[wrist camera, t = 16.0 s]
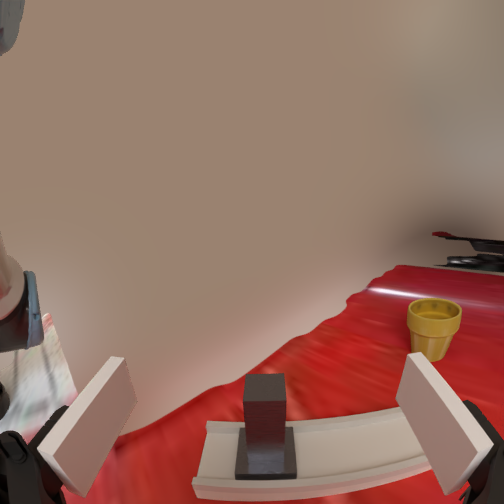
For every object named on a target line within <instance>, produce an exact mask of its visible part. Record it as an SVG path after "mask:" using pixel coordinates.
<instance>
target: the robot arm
mask: <svg viewBox="0 0 504 504" xmlns="http://www.w3.org/2000/svg"><path fill="white" fill-rule="evenodd" d="M24 3H25V0H0V56H2V54H4V53H6V52H8V51H9V50H10V49H11V48H12V47H13V45H14V43H15V41H16V38H17V35H18V32H19V24H20V22H21V19H22V15H23V9H24ZM43 340H44V332H43V326H42V320H41V313H40V307H39V300H38V293H37V284H36V277H35V274H34V273H33V272H32V271H30V272H28V271H24V272H23V271H22V268H21V267H20V265H19V263H18V262H17V261H16V260H15V259H14V258H12V257H11V256H8V255H7V253H6V250H5V247H4V244H3V240H2V237H1V233H0V353H3V352H9V351H14V350H19V349H25V350H27V349H29V348H30V347H34V346H37V345H40V344H41V343H42V342H43ZM395 399H396V400H397V402H398V404H399V406H400V408H401V410H402V411H403V413H404V415H405V417H406V419H407V421H408V422H409V424H410V426H411V428H412V430H413V432H414V434H415V436H416V438H417V440H418V442H419V443H420V445H421V447H422V449H423V451H424V453H425V455H426V457H427V459H428V461H429V463H430V465H431V467H432V469H433V471H434V473H435V476H436V478H437V480H438V482H439V484H440V486H441V488H442V490H443V492H444V495H448V494H450V493H452V492H455V491H457V490H459V489H461V488H462V487H463V485H464V484H465V483H466V482H467V480H468V482H469V484H470V486H469V487H468V488H467V489H466V491H465V492H464V493H463V494H462V495H461V496H460V498H459V500H460V501H461V499H462V498H463V497H464V496H465V498H464V501H463V504H504V440H503V439H502V438H501V436H500V435H499V434H498V432H497V431H496V430H495V428H494V427H493V426H492V425H491V423H490V422H489V421H488V420H487V418H486V417H485V416H484V414H483V415H482V412H481V411H480V409H479V408H478V407H477V406H476V405H475V404H473V403H472V402H470V401H469V400H465V401H461V400H460V399H459V397H458V396H457V395H456V394H455V392H454V391H453V390H452V389H451V387H450V386H449V385H448V384H447V382H446V381H445V380H444V379H443V378H442V376H441V375H440V374H439V373H438V372H437V370H436V369H435V368H434V367H433V366H432V364H431V363H430V362H429V361H428V360H427V358H426V357H425V356H424V355H423V354H422V353H421V352H417V353H412V354H408V355H407V359H406V363H405V367H404V370H403V374H402V378H401V381H400V385H399V388H398V392H397V395H396V398H395ZM136 403H137V399H136V396H135V392H134V389H133V386H132V383H131V379H130V376H129V372H128V369H127V365H126V361H125V358H120V357H113V356H111V357H110V358H109V360H108V361H107V362H106V363H105V364H104V365H103V367H102V368H101V369H100V370H99V371H98V373H97V374H96V375H95V376H94V378H93V379H92V380H91V381H90V382H89V384H88V385H87V386H86V387H85V388H84V390H83V391H82V392H81V393H80V394H79V396H78V397H77V398H76V399H75V400H74V402H73V403H72V404H71V405H70V407H69V406H66V405H64V406H63V407H61V408H59V409H58V410H56V411H55V412H54V413H53V415H52V416H51V417H50V420H48V421H47V422H46V423H45V426H43V427H42V428H41V429H40V430H39V432H38V433H37V434H36V435H35V437H34V438H33V439H32V440H31V442H30V443H29V444H28V445H27V444H26V442H25V441H24V439H23V438H22V436H21V435H20V434H19V433H18V432H15V431H5V432H3V433H1V434H0V504H66V501H65V498H64V494H63V492H62V490H61V489H60V488H61V486H62V485H63V484H64V485H65V487H66V488H67V489H68V490H69V491H70V492H72V493H74V494H77V495H79V496H81V497H84V498H85V497H86V495H87V494H88V492H89V490H90V488H91V486H92V484H93V482H94V480H95V478H96V476H97V474H98V473H99V471H100V469H101V467H102V465H103V463H104V461H105V459H106V458H107V456H108V454H109V452H110V450H111V448H112V447H113V445H114V443H115V441H116V439H117V437H118V436H119V433H120V432H121V430H122V428H123V426H124V425H125V423H126V421H127V419H128V417H129V416H130V414H131V412H132V410H133V408H134V407H135V405H136ZM8 407H9V397H8V394H7V392H6V390H5V388H4V386H3V385H2V383H1V382H0V420H1V419H2V418H3V417H4V415H5V414H6V412H7V410H8Z"/></svg>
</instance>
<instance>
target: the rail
mask: <svg viewBox="0 0 504 504" xmlns="http://www.w3.org/2000/svg"><path fill="white" fill-rule="evenodd" d="M285 427H293V432H294V442H295V453H296V464H297V479H292V480H235V474H234V473H235V465H236V456H237V447H238V438H239V430H240V428H245V422H220V421H207V424H206V429H207V436H206V440H205V444H204V448H203V453H202V457H201V461H200V465H199V469H198V474H197V477H193V480H192V486H193V489H194V491H195V494H196V496H197V498H201V499H211V500H223V501H281V500H295V499H306V498H315V497H323V496H330V495H336V494H342V493H347V492H353V491H357V490H362V489H367V488H371V487H375V486H379V485H383V484H387V483H390V482H394V481H397V480H401V479H404V478H407V477H410V476H413V475H416V474H419V473H422V472H425V471H428V470H430V469H432V467H431V465H430V463H429V461H428V459H427V457H426V455H425V453H424V451H423V449H422V447H421V445H420V443H419V442H418V440H417V438H416V436H415V434H414V432H413V430H412V428H411V426H410V424H409V422H408V421H407V419H406V417H405V415H404V413H403V411H402V410H401V408H400V407H396V408H391V409H386V410H381V411H376V412H370V413H364V414H357V415H350V416H343V417H335V418H326V419H315V420H303V421H286V426H285Z"/></svg>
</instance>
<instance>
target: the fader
mask: <svg viewBox="0 0 504 504" xmlns="http://www.w3.org/2000/svg"><path fill="white" fill-rule="evenodd" d="M243 408H244V420H245V428H240V430H239V438H238V447H237V456H236V465H235V473H234V474H235V480H292V479H297V464H296V453H295V442H294V432H293V427H285V426H286V390H285V379H284V373H281V374H246V378H245V387H244V396H243Z"/></svg>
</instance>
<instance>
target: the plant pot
mask: <svg viewBox="0 0 504 504" xmlns="http://www.w3.org/2000/svg"><path fill="white" fill-rule="evenodd" d="M461 315H462V309H461V307H460V306H459V305H458V304H456V303H454V302H452V301H449V300H446V299H440V298H424V299H419V300H416V301H414V302H412V303H411V304H410V305H409V307H408V313H407V326H408V328H409V329H410V337H411V352H412V353H417V352H421V353H422V354H423V355H424V356H425V357H426V358H427V360H428V361H429V362H433V361H438V360H440V359H442V358H443V357H444V356H445V353H446V351H447V349H448V347H449V344H450V342H451V340H452V337H453V335H454V333H456V332H457V331H458V329H459V325H460V321H461Z"/></svg>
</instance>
